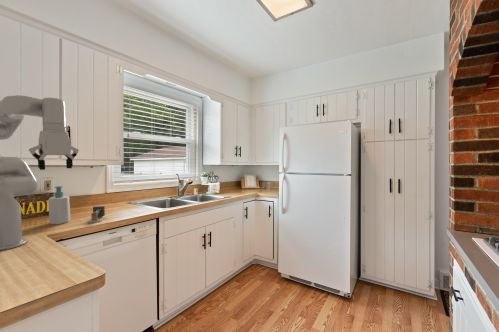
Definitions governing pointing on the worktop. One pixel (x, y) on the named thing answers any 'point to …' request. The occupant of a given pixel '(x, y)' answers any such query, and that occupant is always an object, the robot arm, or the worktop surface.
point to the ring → (99, 209)
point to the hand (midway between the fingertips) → (56, 168)
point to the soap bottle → (59, 208)
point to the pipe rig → (96, 217)
